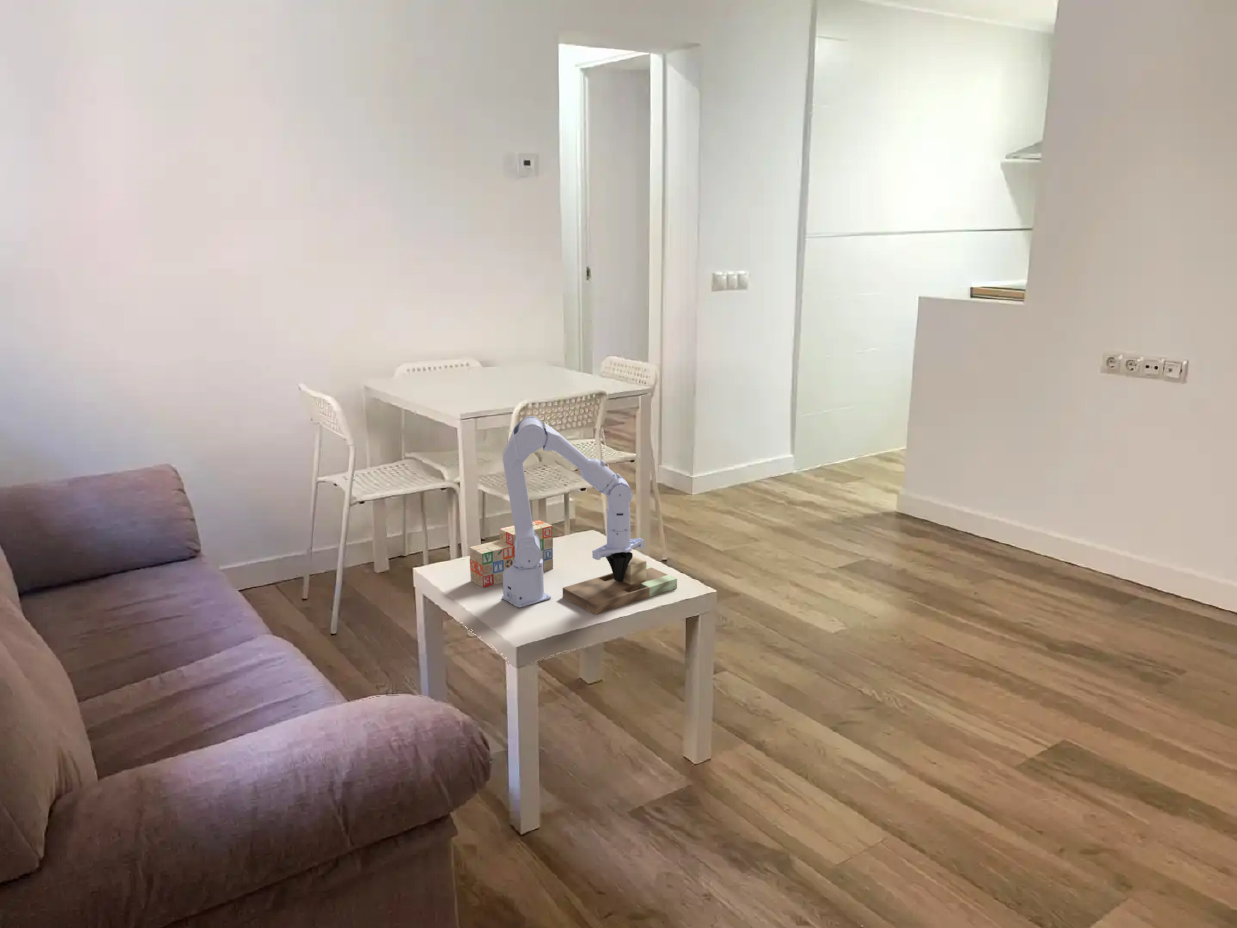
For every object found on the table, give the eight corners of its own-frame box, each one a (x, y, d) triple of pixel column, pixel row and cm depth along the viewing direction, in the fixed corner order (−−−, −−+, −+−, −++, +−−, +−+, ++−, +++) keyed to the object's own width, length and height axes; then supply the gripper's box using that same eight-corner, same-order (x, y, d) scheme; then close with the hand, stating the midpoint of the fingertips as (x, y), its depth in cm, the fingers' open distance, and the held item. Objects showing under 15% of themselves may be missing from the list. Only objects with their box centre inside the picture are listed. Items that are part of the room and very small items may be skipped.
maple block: (630, 584, 234) (630, 565, 233) (617, 578, 238) (617, 559, 237) (646, 579, 237) (646, 560, 236) (633, 574, 241) (633, 555, 240)
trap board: (595, 614, 224) (595, 604, 223) (562, 597, 233) (562, 587, 233) (676, 587, 239) (677, 578, 238) (643, 572, 249) (643, 563, 248)
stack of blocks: (482, 588, 239) (480, 542, 236) (470, 581, 244) (468, 535, 241) (553, 569, 252) (552, 524, 249) (540, 562, 257) (539, 518, 254)
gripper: (604, 538, 224) (605, 592, 228) (652, 525, 233) (652, 578, 236) (586, 530, 229) (587, 583, 233) (633, 518, 238) (633, 569, 242)
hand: (618, 580), depth 235 cm, fingers closed
